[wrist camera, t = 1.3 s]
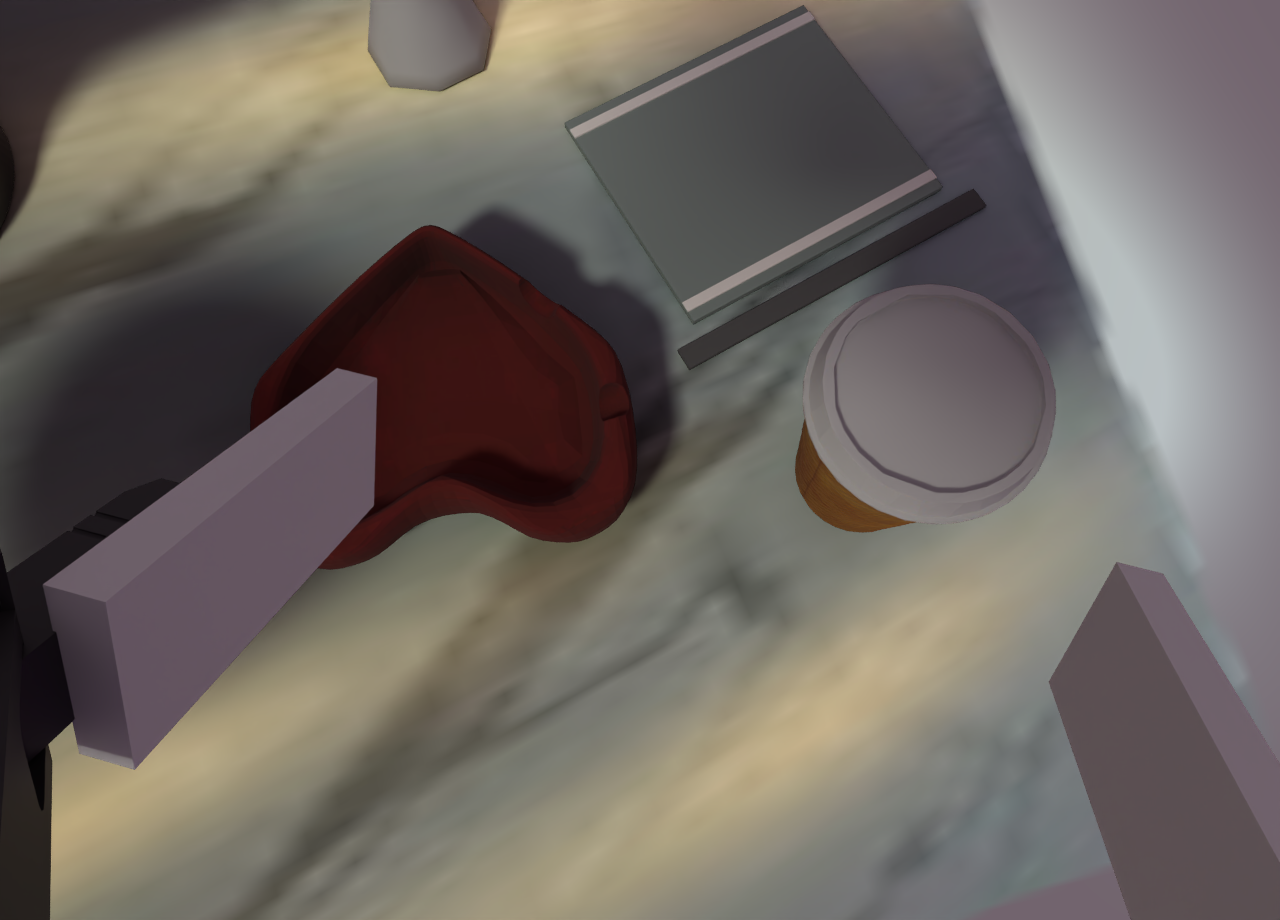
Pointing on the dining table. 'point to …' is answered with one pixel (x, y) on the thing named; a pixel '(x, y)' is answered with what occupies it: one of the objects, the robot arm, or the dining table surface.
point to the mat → (750, 162)
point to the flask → (427, 42)
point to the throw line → (830, 279)
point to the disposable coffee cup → (922, 410)
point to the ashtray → (469, 397)
